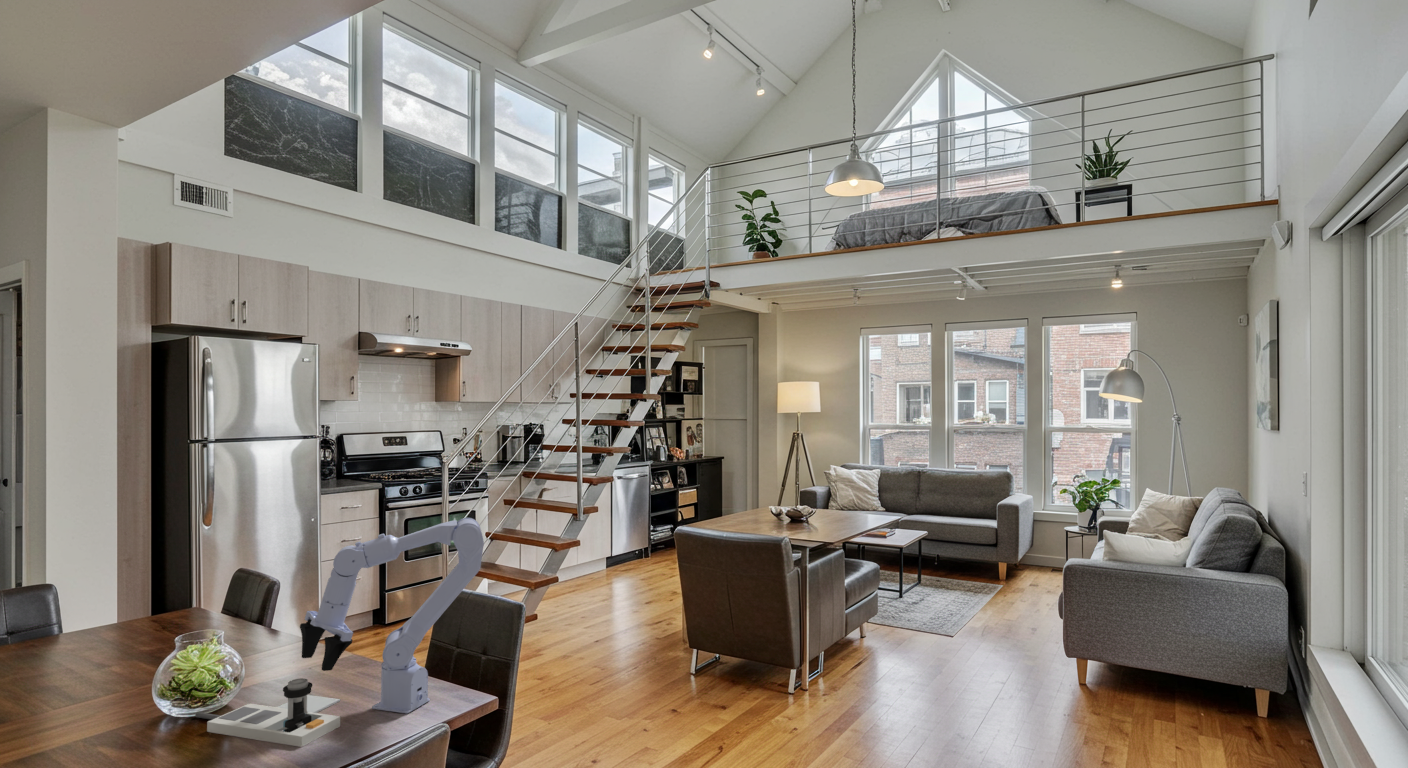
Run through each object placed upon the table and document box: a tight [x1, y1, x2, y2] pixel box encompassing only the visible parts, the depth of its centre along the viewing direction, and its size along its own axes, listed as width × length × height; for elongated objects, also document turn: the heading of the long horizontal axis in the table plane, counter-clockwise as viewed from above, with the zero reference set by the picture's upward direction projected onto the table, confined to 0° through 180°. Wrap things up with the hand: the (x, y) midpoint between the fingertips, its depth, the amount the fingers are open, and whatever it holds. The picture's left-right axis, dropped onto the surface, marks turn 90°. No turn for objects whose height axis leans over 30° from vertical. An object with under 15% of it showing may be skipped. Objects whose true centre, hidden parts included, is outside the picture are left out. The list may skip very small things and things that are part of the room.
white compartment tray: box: [194, 703, 341, 748], centre depth 156 cm, size 33×10×3 cm, turn 74°
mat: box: [277, 694, 341, 713], centre depth 166 cm, size 10×10×1 cm
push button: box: [277, 678, 313, 733], centre depth 153 cm, size 7×5×10 cm
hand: (316, 663), depth 162 cm, fingers open, 7 cm apart
